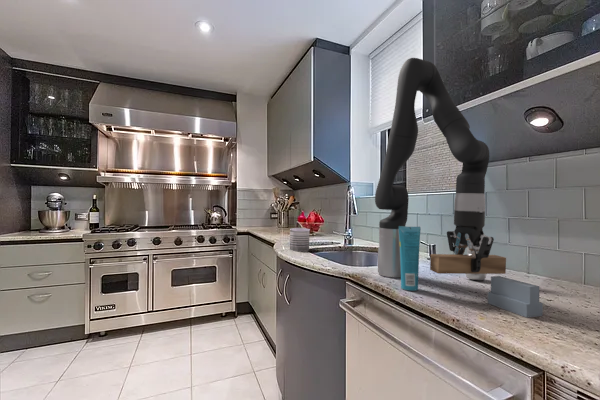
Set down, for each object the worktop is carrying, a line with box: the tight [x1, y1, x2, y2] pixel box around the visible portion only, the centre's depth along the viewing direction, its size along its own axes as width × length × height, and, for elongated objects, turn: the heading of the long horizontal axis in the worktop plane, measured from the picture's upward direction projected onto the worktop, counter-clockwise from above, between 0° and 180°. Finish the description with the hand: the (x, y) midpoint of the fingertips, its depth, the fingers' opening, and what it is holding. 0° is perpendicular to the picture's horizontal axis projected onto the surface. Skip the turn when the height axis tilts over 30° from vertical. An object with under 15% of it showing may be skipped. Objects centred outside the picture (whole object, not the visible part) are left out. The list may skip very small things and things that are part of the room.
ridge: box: [487, 275, 544, 318], centre depth 72 cm, size 10×5×7 cm, turn 15°
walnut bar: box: [429, 253, 507, 275], centre depth 81 cm, size 4×20×4 cm, turn 96°
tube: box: [399, 225, 421, 292], centre depth 88 cm, size 7×5×19 cm, turn 107°
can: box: [289, 227, 311, 252], centre depth 163 cm, size 11×11×12 cm
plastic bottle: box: [465, 233, 488, 281], centre depth 101 cm, size 6×7×20 cm
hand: (467, 269), depth 81 cm, fingers closed on walnut bar, 4 cm apart
